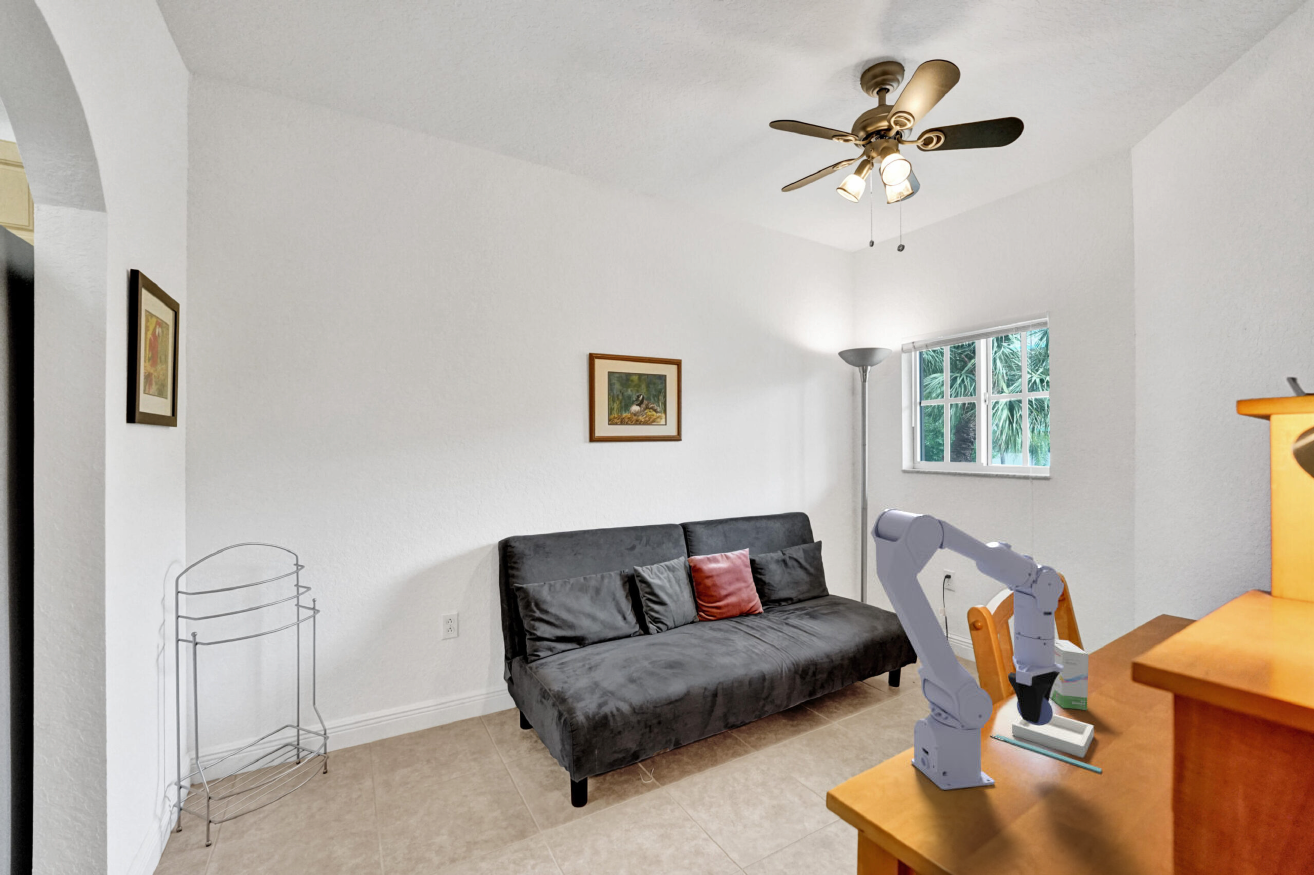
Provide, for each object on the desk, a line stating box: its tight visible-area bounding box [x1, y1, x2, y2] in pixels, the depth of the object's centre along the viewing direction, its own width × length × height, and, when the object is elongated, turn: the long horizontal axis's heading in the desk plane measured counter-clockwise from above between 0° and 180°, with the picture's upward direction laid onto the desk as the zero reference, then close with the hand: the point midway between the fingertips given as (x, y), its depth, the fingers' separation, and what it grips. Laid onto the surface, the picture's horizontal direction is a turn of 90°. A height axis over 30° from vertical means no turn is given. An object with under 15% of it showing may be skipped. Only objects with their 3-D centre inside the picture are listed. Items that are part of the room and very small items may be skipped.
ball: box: [1016, 698, 1054, 726], centre depth 93 cm, size 5×5×5 cm
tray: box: [1011, 713, 1095, 759], centre depth 102 cm, size 11×11×2 cm
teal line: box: [992, 734, 1102, 774], centre depth 96 cm, size 16×1×1 cm, turn 44°
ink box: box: [1049, 638, 1089, 711], centre depth 117 cm, size 9×5×12 cm, turn 168°
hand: (1034, 715), depth 93 cm, fingers closed on ball, 5 cm apart
